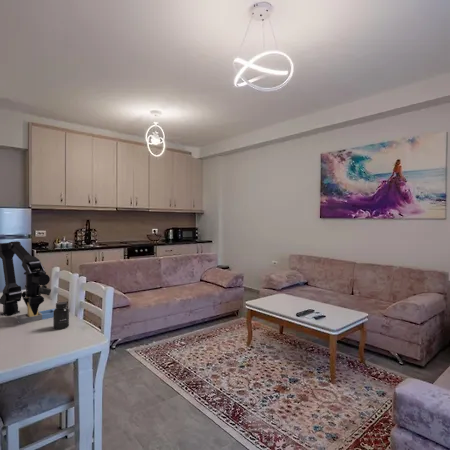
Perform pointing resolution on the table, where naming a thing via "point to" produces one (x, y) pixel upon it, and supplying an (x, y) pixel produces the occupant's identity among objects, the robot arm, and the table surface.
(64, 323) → the supplement bottle
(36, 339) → the table surface
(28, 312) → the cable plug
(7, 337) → the table surface
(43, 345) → the table surface
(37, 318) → the duct block
